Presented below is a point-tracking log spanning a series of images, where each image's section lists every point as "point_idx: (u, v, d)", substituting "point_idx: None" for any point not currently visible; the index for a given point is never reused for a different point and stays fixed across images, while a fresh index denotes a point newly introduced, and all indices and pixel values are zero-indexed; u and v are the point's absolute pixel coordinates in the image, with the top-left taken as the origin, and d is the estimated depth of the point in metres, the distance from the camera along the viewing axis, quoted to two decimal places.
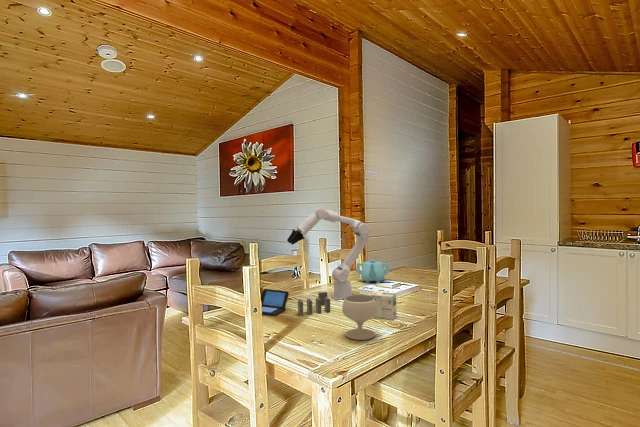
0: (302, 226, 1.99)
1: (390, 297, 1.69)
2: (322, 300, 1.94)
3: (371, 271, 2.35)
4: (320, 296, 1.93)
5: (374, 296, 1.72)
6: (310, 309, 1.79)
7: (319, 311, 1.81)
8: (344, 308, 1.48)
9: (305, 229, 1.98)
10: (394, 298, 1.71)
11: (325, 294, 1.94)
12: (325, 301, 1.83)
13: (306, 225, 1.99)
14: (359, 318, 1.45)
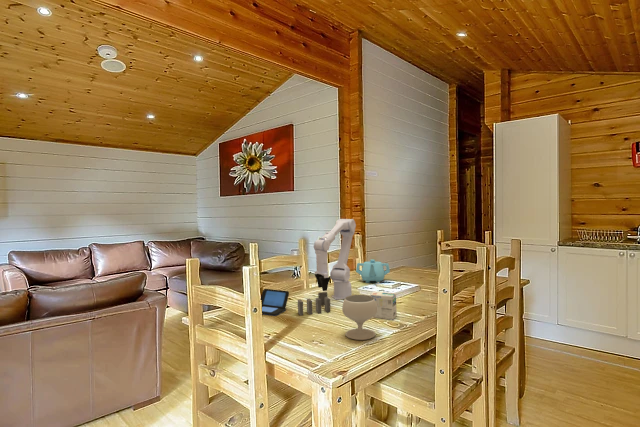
0: (319, 269, 1.92)
1: (390, 297, 1.69)
2: (322, 300, 1.94)
3: (371, 271, 2.35)
4: (320, 296, 1.93)
5: (374, 296, 1.72)
6: (310, 309, 1.79)
7: (319, 311, 1.81)
8: (344, 308, 1.48)
9: (324, 269, 1.91)
10: (394, 298, 1.71)
11: (325, 294, 1.94)
12: (325, 301, 1.83)
13: (321, 266, 1.91)
14: (359, 318, 1.45)
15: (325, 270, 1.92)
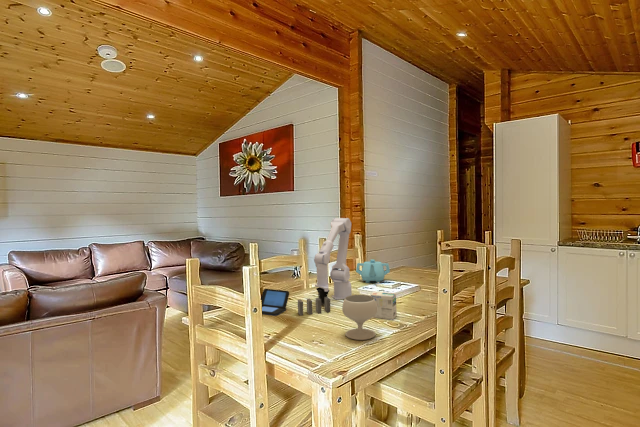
0: (320, 283, 1.92)
1: (390, 297, 1.69)
2: None
3: (371, 271, 2.35)
4: None
5: (374, 296, 1.72)
6: (310, 309, 1.79)
7: (319, 311, 1.81)
8: (344, 308, 1.48)
9: (324, 283, 1.92)
10: (394, 298, 1.71)
11: None
12: (325, 301, 1.83)
13: (322, 279, 1.91)
14: (359, 318, 1.45)
15: (325, 283, 1.92)
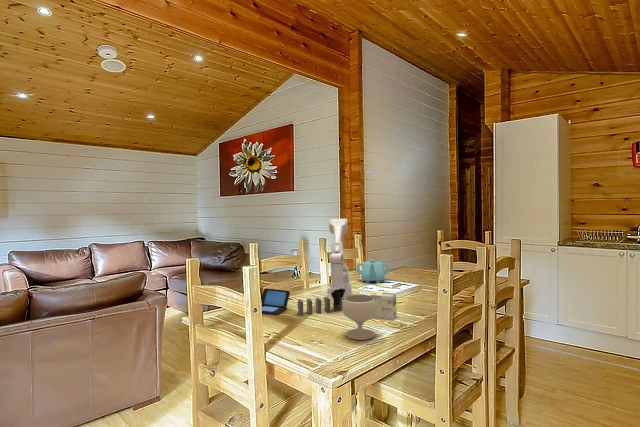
0: None
1: (390, 297, 1.69)
2: (336, 305, 1.85)
3: (371, 271, 2.35)
4: None
5: (374, 296, 1.72)
6: (310, 309, 1.79)
7: (319, 311, 1.81)
8: (344, 308, 1.48)
9: (334, 284, 1.83)
10: (394, 298, 1.71)
11: None
12: (325, 301, 1.83)
13: (332, 280, 1.83)
14: (359, 318, 1.45)
15: (336, 285, 1.82)
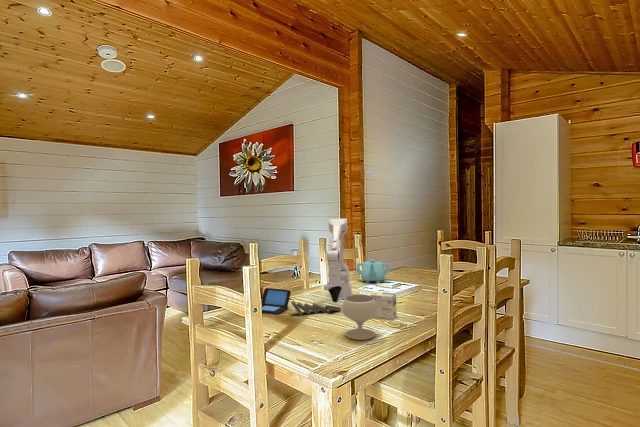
0: None
1: (390, 297, 1.69)
2: None
3: (371, 271, 2.35)
4: None
5: (374, 296, 1.72)
6: (305, 310, 1.79)
7: (316, 311, 1.80)
8: (344, 308, 1.48)
9: (331, 281, 1.82)
10: (394, 298, 1.71)
11: None
12: None
13: (329, 277, 1.83)
14: (359, 318, 1.45)
15: (333, 282, 1.82)
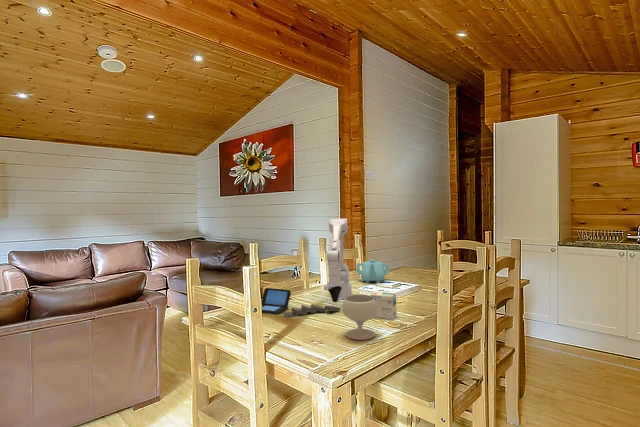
0: None
1: (390, 297, 1.69)
2: None
3: (371, 271, 2.35)
4: None
5: (374, 296, 1.72)
6: (302, 312, 1.78)
7: (313, 312, 1.80)
8: (344, 308, 1.48)
9: (331, 281, 1.82)
10: (394, 298, 1.71)
11: None
12: None
13: (329, 277, 1.83)
14: (359, 318, 1.45)
15: (333, 282, 1.82)
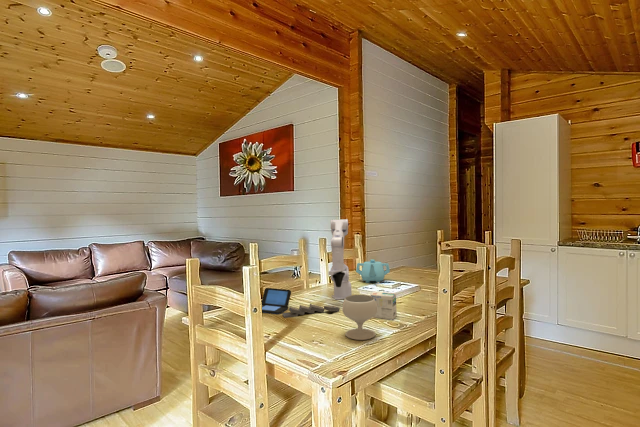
0: (332, 266, 1.91)
1: (390, 297, 1.69)
2: None
3: (371, 271, 2.35)
4: None
5: (374, 296, 1.72)
6: (299, 312, 1.78)
7: (311, 312, 1.80)
8: (344, 308, 1.48)
9: (335, 267, 1.89)
10: (394, 298, 1.71)
11: (330, 310, 1.80)
12: None
13: (333, 263, 1.89)
14: (359, 318, 1.45)
15: (336, 268, 1.88)
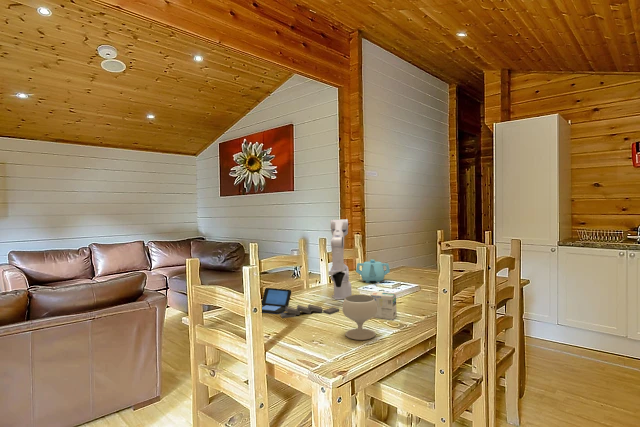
0: (332, 266, 1.91)
1: (390, 297, 1.69)
2: None
3: (371, 271, 2.35)
4: None
5: (374, 296, 1.72)
6: (295, 312, 1.77)
7: (308, 312, 1.80)
8: (344, 308, 1.48)
9: (335, 267, 1.89)
10: (394, 298, 1.71)
11: None
12: None
13: (333, 263, 1.89)
14: (359, 318, 1.45)
15: (336, 268, 1.88)
